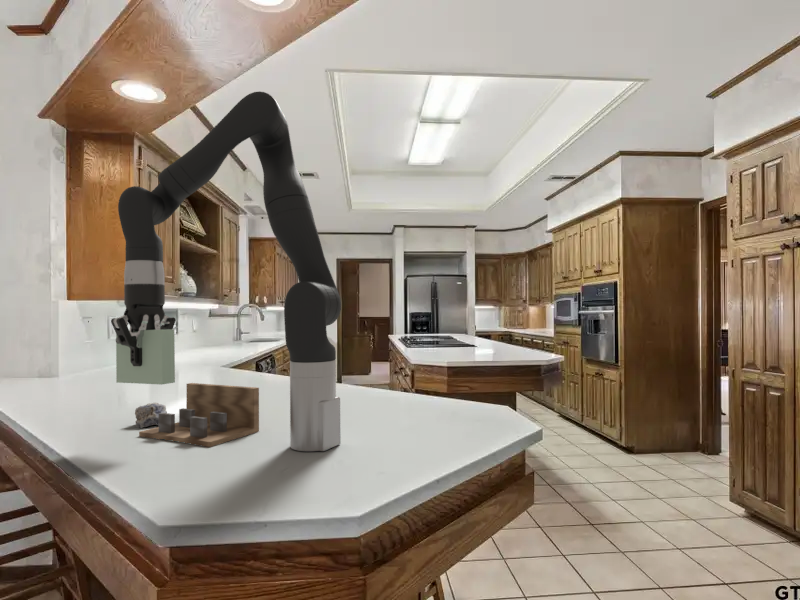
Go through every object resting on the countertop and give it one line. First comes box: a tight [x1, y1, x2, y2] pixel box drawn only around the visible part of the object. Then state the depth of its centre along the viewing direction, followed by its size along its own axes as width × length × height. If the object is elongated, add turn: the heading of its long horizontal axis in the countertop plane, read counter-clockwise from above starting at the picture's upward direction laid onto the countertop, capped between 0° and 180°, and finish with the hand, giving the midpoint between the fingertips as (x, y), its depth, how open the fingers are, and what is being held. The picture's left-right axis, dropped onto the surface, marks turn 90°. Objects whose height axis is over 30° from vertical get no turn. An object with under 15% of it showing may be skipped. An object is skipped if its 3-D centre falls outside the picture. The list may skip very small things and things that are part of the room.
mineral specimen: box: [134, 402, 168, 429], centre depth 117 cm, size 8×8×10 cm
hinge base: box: [138, 382, 260, 448], centre depth 106 cm, size 22×14×10 cm, turn 64°
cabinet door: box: [115, 328, 176, 385], centre depth 98 cm, size 14×4×11 cm, turn 65°
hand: (145, 364), depth 98 cm, fingers closed on cabinet door, 3 cm apart
